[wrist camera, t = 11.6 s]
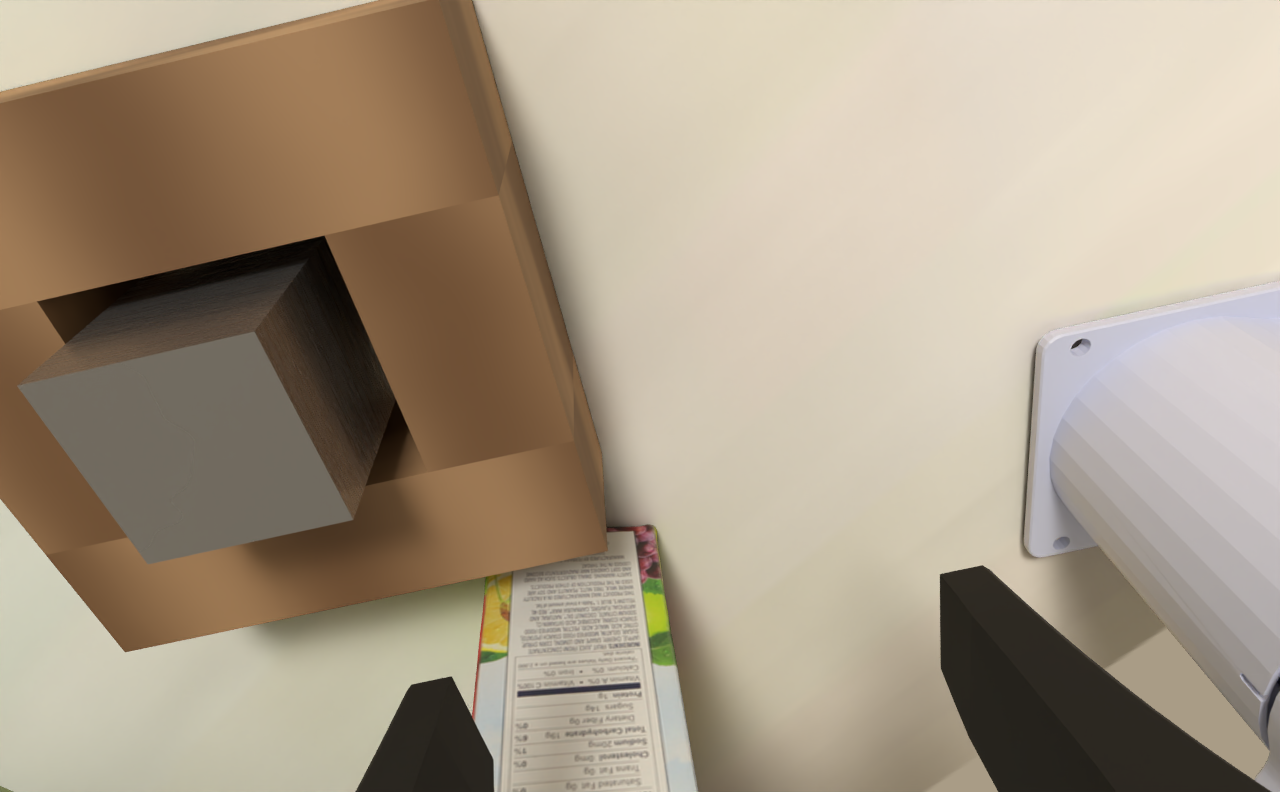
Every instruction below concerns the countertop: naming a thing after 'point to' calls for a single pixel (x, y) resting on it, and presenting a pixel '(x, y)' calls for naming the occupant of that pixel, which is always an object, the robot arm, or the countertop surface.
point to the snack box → (583, 675)
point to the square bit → (222, 402)
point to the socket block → (372, 270)
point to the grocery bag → (4, 789)
